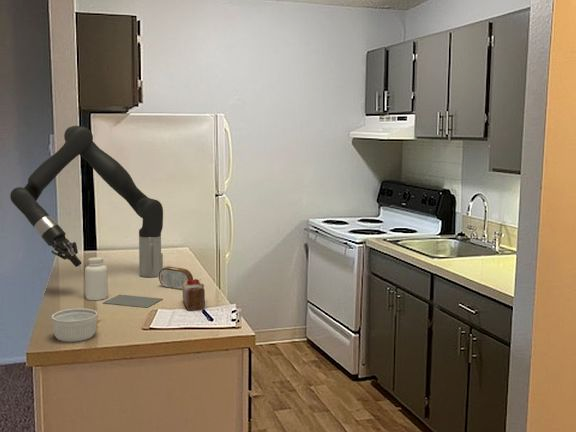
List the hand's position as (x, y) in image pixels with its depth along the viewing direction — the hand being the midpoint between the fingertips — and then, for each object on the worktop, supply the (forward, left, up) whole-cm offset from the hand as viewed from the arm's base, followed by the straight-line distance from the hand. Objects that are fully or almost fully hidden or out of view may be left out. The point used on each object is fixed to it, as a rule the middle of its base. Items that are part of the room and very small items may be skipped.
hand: (79, 265), depth 236 cm
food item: (-34, +30, -12) cm, 47 cm away
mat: (-16, +16, -12) cm, 25 cm away
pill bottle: (-5, +5, -12) cm, 14 cm away
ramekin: (+11, +46, -12) cm, 49 cm away
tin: (-36, +4, -12) cm, 38 cm away
